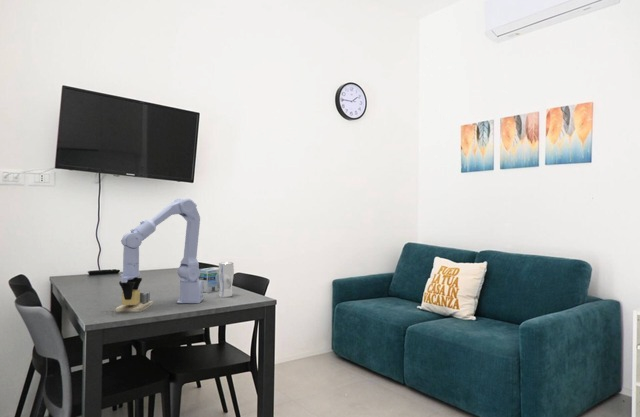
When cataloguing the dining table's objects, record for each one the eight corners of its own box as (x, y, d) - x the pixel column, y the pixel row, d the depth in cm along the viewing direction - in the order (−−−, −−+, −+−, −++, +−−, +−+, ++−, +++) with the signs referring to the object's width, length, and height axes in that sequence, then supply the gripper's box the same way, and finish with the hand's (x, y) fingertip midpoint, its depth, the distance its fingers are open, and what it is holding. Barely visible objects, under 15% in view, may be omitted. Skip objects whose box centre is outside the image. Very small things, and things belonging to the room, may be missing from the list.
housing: (149, 300, 181) (149, 292, 181) (145, 303, 176) (145, 294, 176) (127, 300, 181) (127, 292, 181) (122, 303, 176) (122, 294, 176)
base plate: (152, 304, 182) (152, 295, 182) (141, 311, 169) (141, 301, 169) (127, 304, 181) (128, 295, 181) (115, 311, 168) (115, 301, 168)
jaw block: (139, 302, 174) (139, 289, 174) (135, 304, 169) (135, 291, 169) (127, 302, 174) (127, 289, 174) (122, 304, 169) (122, 292, 169)
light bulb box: (207, 293, 206) (207, 270, 206) (197, 291, 210) (198, 269, 210) (224, 289, 215) (224, 267, 215) (214, 288, 219) (214, 266, 219)
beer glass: (229, 297, 196) (230, 264, 196) (215, 296, 198) (215, 263, 198) (235, 294, 203) (236, 262, 203) (221, 294, 204) (222, 262, 204)
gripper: (127, 261, 179) (127, 294, 179) (113, 265, 164) (112, 301, 164) (145, 261, 179) (144, 294, 179) (132, 265, 165) (131, 301, 165)
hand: (130, 298), depth 172 cm, fingers closed on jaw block, 5 cm apart
